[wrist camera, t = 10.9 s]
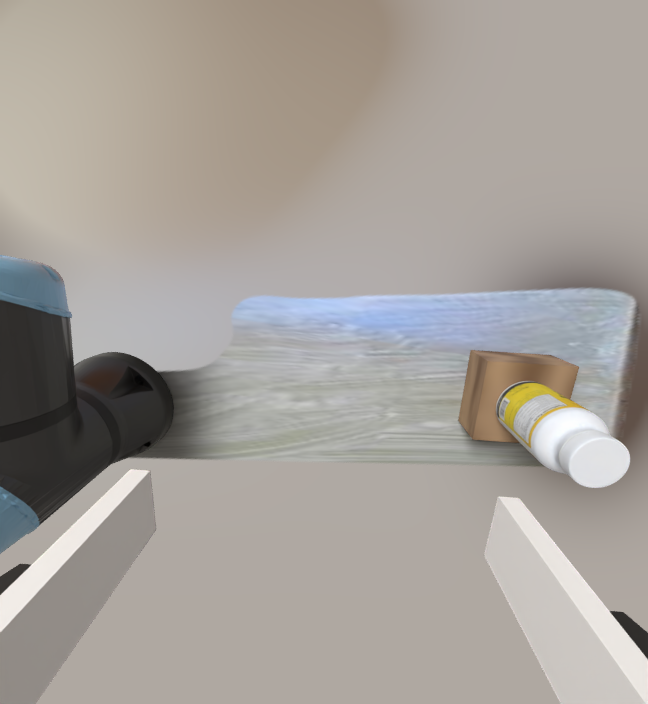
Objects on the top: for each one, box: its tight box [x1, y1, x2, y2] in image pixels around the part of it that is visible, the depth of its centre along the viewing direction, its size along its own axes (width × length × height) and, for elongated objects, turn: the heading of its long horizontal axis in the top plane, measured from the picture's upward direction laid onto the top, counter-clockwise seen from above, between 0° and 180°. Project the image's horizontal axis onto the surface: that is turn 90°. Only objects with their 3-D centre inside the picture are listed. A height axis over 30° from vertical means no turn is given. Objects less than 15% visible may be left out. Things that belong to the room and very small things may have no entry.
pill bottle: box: [496, 381, 630, 488], centre depth 31 cm, size 6×6×12 cm
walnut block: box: [459, 350, 579, 443], centre depth 39 cm, size 10×10×5 cm
